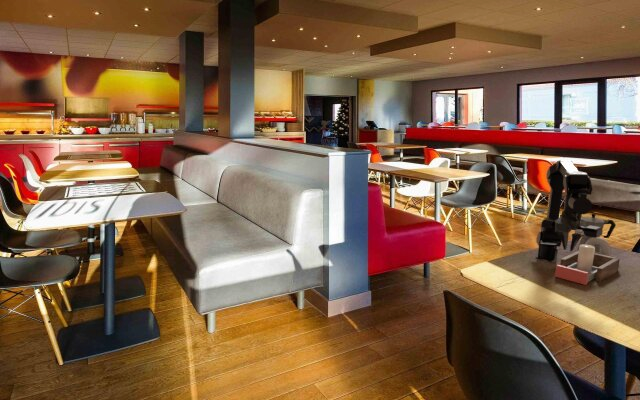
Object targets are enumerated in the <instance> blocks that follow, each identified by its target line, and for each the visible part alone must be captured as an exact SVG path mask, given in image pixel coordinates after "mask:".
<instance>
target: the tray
mask: <svg viewBox="0 0 640 400" xmlns="http://www.w3.org/2000/svg"><path fill="white" fill-rule="evenodd" d="M576 267H577V262H575V263H573V264H571V265H569V266H567V267H565V266H561V265H560V264H556V267H555V273H554V277H556V278H559V279H563V280H567V281H570V282H573V283H576V284H577V283H578V284H582V285H584V286H586V285H588V283H589V282H590V281H592V280H594V279H596V275H597V268H598V267H596V266H592V271H591V273H588V272H584V271H581V270H577V269H576Z"/></svg>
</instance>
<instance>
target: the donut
mask: <svg viewBox="0 0 640 400" xmlns="http://www.w3.org/2000/svg"><path fill="white" fill-rule="evenodd" d="M585 245H591V246H595V245H599V246H600V248H601V252H595V253H597V254H601V255H605V256H610V255H611V252H612V247H611V245H610V243H609V242H608V240H606V238H604V237H601V236H600V237H597V238H594V237H593V238H590V239H588V240H587V242H586V243H585Z"/></svg>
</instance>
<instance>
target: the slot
mask: <svg viewBox="0 0 640 400" xmlns="http://www.w3.org/2000/svg"><path fill="white" fill-rule="evenodd" d="M578 254H579V251H575V252H573V253H571V254H568V255H566V256H564V257H562V258H561V259H560V264H559V265H561V266H565V267H567V266H569V265H571V264H573V263H575V262H577V260H578ZM620 260H621V259H620V258H618V257H613V256H610V255H609V256H605V255H601V254H597V253H594V259H593V265H592V266H594V267H598V268H597V275H596V278H595V281H597V282H602V281H604V280H605V279H607V278H608V277H610V276H612V275H613V274H615V273H617V272H618V271H619V269H620V268H619V266H620Z"/></svg>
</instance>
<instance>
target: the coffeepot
mask: <svg viewBox="0 0 640 400" xmlns="http://www.w3.org/2000/svg"><path fill="white" fill-rule="evenodd" d="M596 215H597V214H596V213H593V212H592V213H591V216H589V217H581V222H582V225H580V226H582V227H588V226H590V225H591V226H597V227H601V228H602V230H603V229H604V226H605V225H610V226H609V228H608V229H609V230H608V231H607V232H606V235H602V236H603V237H602V238H603V239H609V238H610V236H611V235H612V233H613V232H614V229H615V228H616V225H617V223H616V222H615V221H614V220H612V219H602V218H598V217H596ZM599 237H600V238H601V236H599ZM590 238H593V237H589V236H585V235H584V236H582V237H581V238H580V240H579V244H578V247H577V251H579V247H580V245H582V244H585V243H586V242H587V240H588V239H590ZM594 247H595V252H601V247H600V246H599V245H595V246H594ZM577 251H576V252H577Z"/></svg>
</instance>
